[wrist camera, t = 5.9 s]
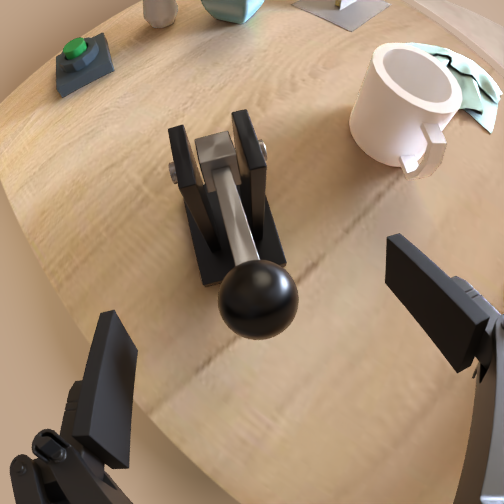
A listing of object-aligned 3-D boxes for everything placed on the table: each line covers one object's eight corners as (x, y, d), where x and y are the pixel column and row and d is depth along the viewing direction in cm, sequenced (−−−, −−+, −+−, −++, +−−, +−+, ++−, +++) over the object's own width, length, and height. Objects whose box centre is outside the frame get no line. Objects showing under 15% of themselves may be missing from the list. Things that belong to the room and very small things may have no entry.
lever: (307, 338, 14) (311, 305, 11) (234, 359, 14) (218, 330, 11) (243, 162, 22) (235, 121, 19) (195, 175, 22) (183, 134, 19)
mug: (444, 189, 33) (492, 144, 23) (372, 197, 33) (412, 144, 23) (405, 101, 37) (434, 47, 26) (338, 101, 36) (357, 39, 26)
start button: (88, 52, 36) (84, 44, 34) (67, 63, 36) (62, 55, 34) (86, 41, 37) (82, 34, 35) (66, 52, 36) (62, 45, 35)
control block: (114, 70, 39) (105, 52, 35) (62, 97, 38) (51, 82, 34) (107, 41, 41) (99, 24, 37) (60, 64, 40) (51, 50, 37)
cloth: (508, 95, 38) (514, 88, 36) (480, 155, 35) (488, 146, 32) (423, 26, 42) (427, 18, 40) (369, 64, 38) (373, 52, 36)
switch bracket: (285, 265, 31) (309, 204, 17) (205, 287, 31) (161, 243, 16) (257, 176, 34) (257, 75, 19) (184, 195, 33) (141, 104, 19)
